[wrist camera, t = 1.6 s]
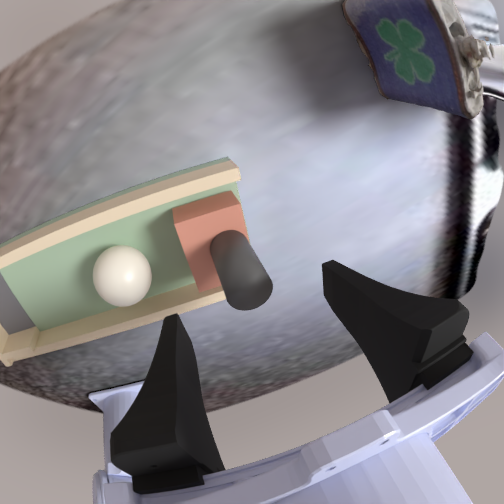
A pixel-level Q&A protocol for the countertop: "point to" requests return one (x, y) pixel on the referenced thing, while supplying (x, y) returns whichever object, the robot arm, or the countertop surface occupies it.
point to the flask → (421, 52)
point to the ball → (122, 275)
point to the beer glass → (493, 73)
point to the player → (222, 250)
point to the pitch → (85, 255)
